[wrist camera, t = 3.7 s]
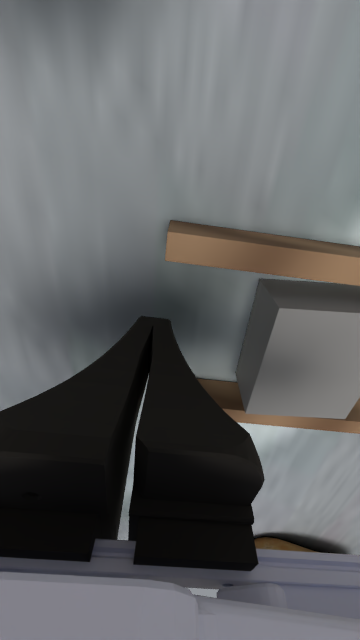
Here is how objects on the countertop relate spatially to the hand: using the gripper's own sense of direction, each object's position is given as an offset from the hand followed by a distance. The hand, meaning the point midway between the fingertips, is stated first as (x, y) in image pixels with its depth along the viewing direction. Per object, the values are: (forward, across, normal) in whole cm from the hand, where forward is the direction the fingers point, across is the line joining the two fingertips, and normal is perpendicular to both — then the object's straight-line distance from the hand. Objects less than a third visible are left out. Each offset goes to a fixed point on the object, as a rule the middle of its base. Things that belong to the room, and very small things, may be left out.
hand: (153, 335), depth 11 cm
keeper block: (+2, -7, 0) cm, 7 cm away
